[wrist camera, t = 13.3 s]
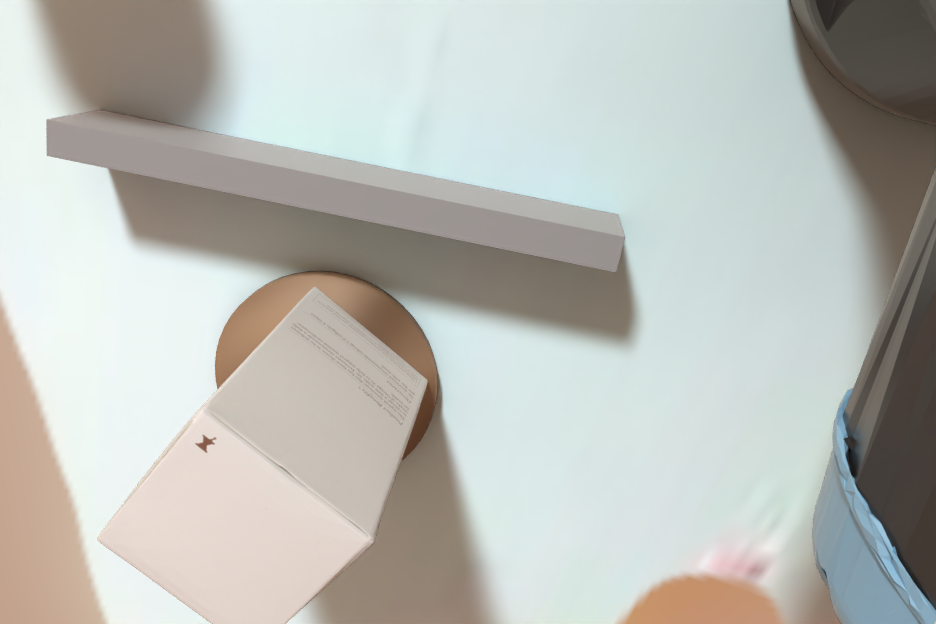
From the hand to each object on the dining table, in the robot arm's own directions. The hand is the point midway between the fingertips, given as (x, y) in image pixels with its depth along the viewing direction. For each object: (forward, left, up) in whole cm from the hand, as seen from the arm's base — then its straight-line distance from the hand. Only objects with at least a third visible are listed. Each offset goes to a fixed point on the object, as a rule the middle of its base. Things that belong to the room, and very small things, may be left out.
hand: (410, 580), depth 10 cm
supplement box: (+3, +13, -26) cm, 29 cm away
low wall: (+7, +3, -27) cm, 28 cm away
